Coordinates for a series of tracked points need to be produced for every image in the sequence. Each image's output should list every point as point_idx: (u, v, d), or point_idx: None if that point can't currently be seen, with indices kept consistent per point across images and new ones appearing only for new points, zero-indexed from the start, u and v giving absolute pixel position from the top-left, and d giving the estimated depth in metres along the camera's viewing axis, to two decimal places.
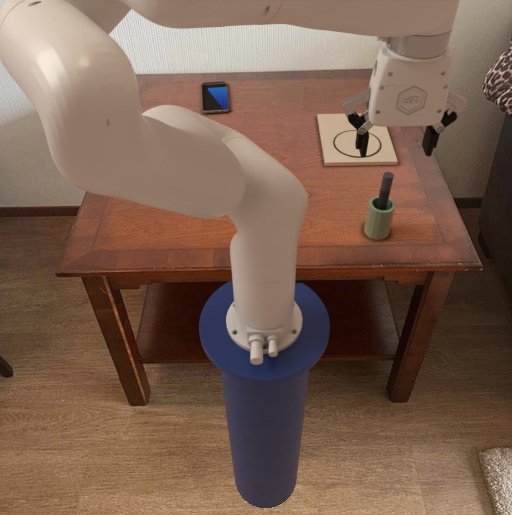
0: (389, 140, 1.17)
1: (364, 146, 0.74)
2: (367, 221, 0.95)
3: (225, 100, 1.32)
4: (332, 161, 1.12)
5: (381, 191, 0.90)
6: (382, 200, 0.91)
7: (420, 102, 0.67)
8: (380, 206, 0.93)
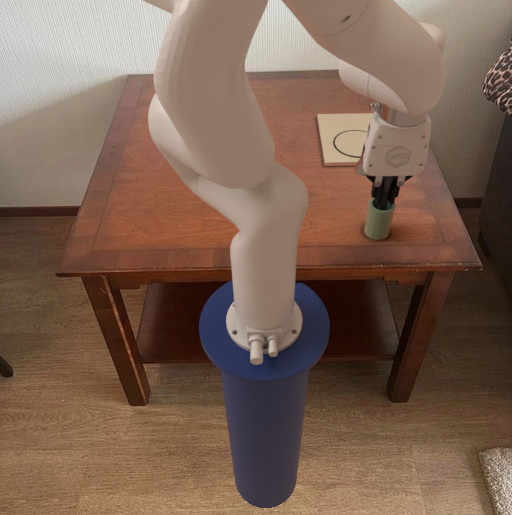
0: None
1: (379, 196, 0.90)
2: (367, 221, 0.95)
3: None
4: (332, 161, 1.12)
5: None
6: (382, 200, 0.91)
7: (405, 158, 0.82)
8: (380, 206, 0.93)
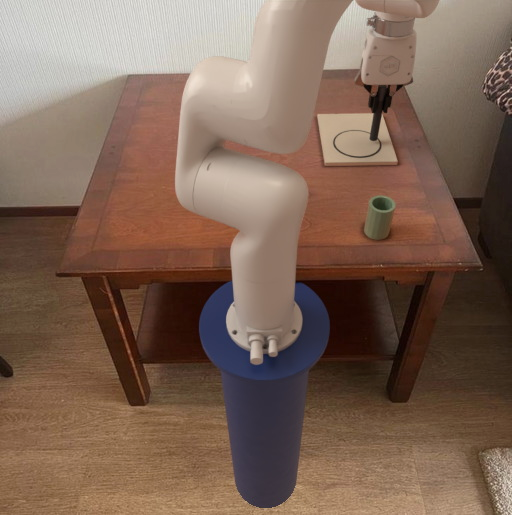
0: (389, 140, 1.17)
1: (374, 105, 1.08)
2: (367, 221, 0.95)
3: None
4: (332, 161, 1.12)
5: None
6: (377, 110, 1.10)
7: (396, 67, 1.00)
8: (376, 115, 1.11)
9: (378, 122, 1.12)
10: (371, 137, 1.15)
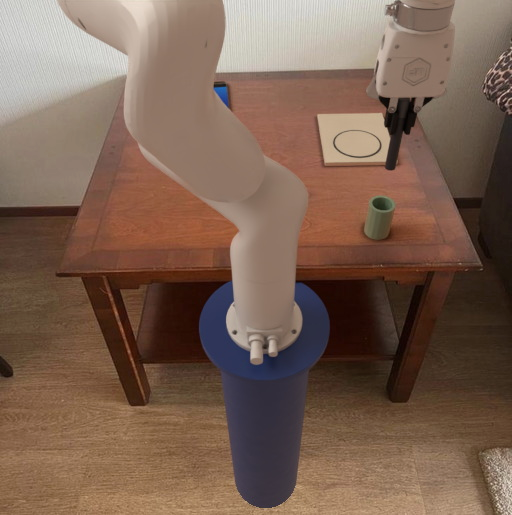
0: (389, 140, 1.17)
1: (393, 124, 0.80)
2: (367, 221, 0.95)
3: (225, 100, 1.32)
4: (332, 161, 1.12)
5: None
6: (397, 130, 0.81)
7: (424, 74, 0.73)
8: (394, 138, 0.83)
9: (397, 146, 0.84)
10: (387, 165, 0.87)
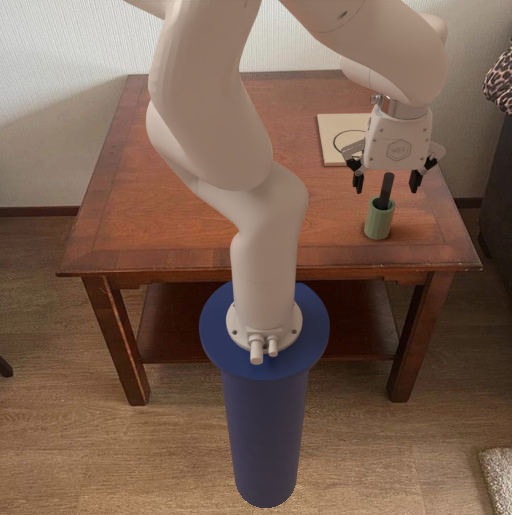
0: None
1: (360, 185, 0.88)
2: (367, 221, 0.95)
3: None
4: (332, 161, 1.12)
5: (382, 191, 0.90)
6: (383, 200, 0.91)
7: (406, 152, 0.81)
8: (381, 206, 0.93)
9: None
10: None
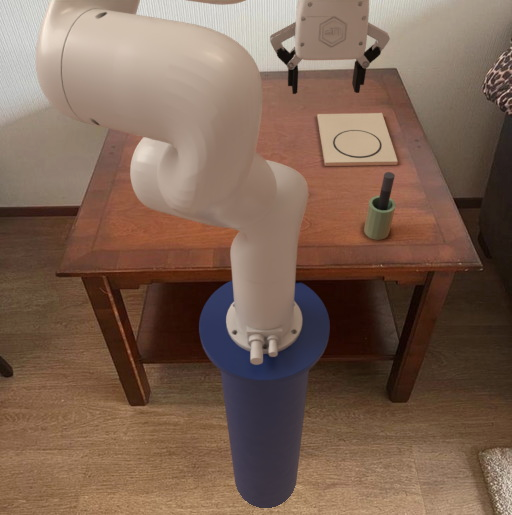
0: (389, 140, 1.17)
1: (294, 82, 0.77)
2: (367, 221, 0.95)
3: None
4: (332, 161, 1.12)
5: (382, 191, 0.90)
6: (383, 200, 0.91)
7: (341, 34, 0.71)
8: (381, 206, 0.93)
9: None
10: None
